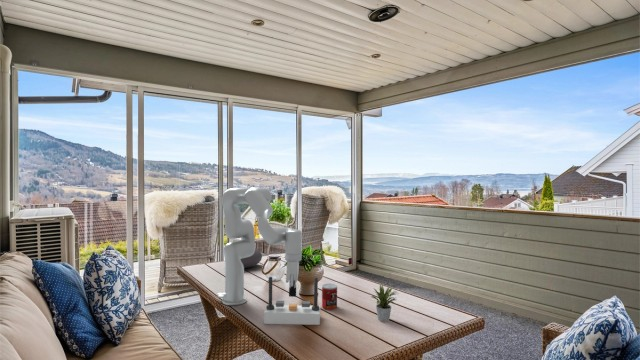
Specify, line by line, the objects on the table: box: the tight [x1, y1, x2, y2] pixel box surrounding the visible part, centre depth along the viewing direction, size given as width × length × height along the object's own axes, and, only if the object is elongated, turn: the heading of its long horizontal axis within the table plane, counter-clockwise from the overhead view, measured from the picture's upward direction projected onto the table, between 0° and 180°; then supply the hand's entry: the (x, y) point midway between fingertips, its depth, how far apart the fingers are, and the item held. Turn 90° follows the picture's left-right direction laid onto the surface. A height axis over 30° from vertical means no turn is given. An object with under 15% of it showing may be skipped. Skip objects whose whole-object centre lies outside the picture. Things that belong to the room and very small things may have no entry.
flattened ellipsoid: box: [241, 247, 263, 269], centre depth 265 cm, size 25×25×15 cm
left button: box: [275, 300, 285, 307], centre depth 169 cm, size 4×4×2 cm
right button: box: [301, 300, 311, 307], centre depth 169 cm, size 4×4×2 cm
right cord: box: [311, 277, 321, 311], centre depth 169 cm, size 4×4×15 cm
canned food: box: [321, 283, 338, 311], centre depth 186 cm, size 8×8×11 cm
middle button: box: [288, 303, 298, 310], centre depth 169 cm, size 4×4×2 cm
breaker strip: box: [263, 304, 321, 326], centre depth 169 cm, size 25×10×5 cm, turn 89°
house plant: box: [370, 284, 401, 323], centre depth 169 cm, size 14×14×16 cm
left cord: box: [265, 276, 275, 310], centre depth 169 cm, size 4×4×15 cm
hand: (292, 295), depth 169 cm, fingers closed
